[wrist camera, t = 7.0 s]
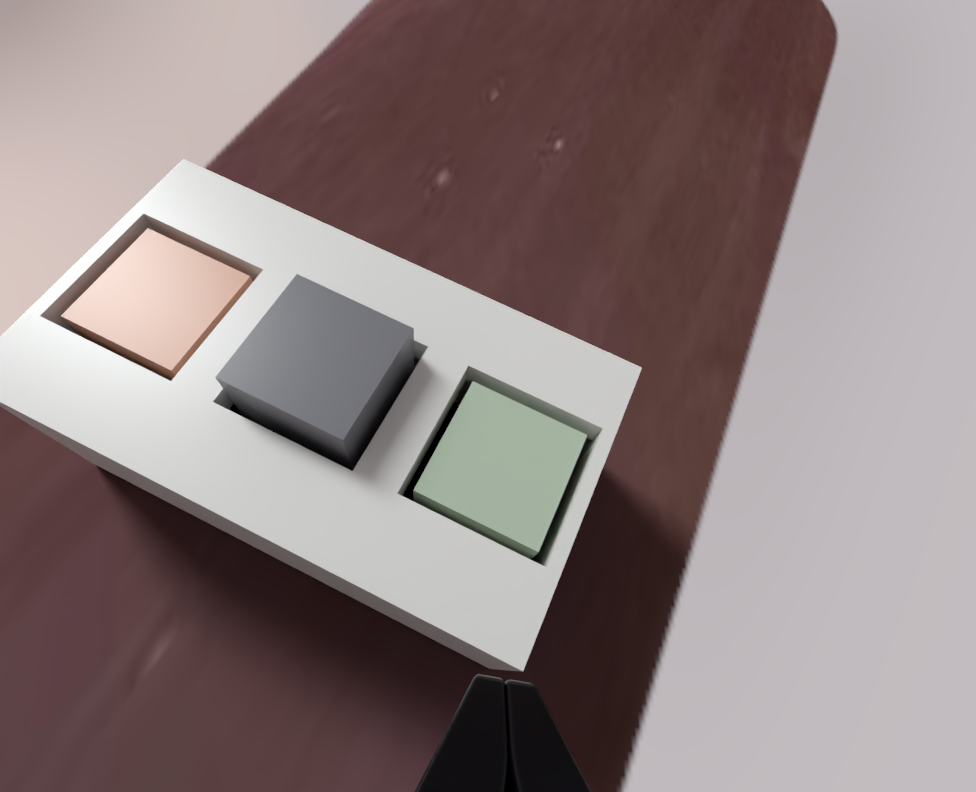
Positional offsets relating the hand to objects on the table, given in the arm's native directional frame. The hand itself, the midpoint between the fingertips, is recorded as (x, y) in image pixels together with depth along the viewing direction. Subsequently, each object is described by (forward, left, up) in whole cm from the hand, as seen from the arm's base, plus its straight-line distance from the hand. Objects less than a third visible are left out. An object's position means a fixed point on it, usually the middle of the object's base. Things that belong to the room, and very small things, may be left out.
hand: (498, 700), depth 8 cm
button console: (+9, +2, -13) cm, 15 cm away
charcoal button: (+9, +2, -7) cm, 11 cm away
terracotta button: (+12, +6, -8) cm, 16 cm away
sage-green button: (+5, -2, -8) cm, 10 cm away
